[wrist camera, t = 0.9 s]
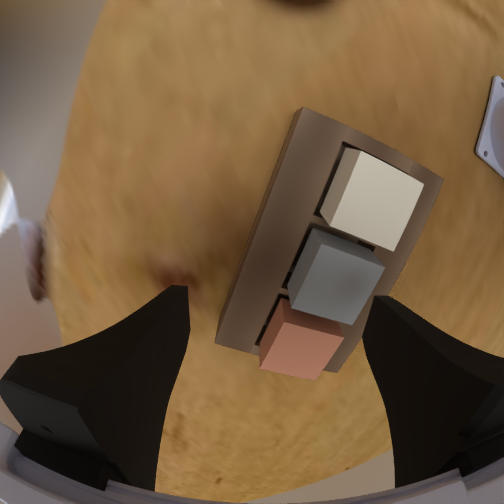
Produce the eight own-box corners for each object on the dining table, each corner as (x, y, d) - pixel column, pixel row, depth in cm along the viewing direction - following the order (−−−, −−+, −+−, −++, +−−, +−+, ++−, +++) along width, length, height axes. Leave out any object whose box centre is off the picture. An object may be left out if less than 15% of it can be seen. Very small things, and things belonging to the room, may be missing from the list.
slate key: (370, 249, 17) (385, 267, 15) (342, 302, 19) (352, 325, 16) (312, 227, 17) (321, 244, 14) (287, 285, 18) (291, 308, 16)
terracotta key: (335, 313, 19) (344, 337, 17) (310, 355, 21) (315, 380, 18) (281, 297, 19) (284, 322, 16) (259, 342, 20) (259, 368, 18)
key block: (422, 171, 18) (444, 179, 15) (330, 349, 24) (337, 372, 21) (296, 110, 17) (303, 106, 14) (219, 319, 23) (214, 343, 20)
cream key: (403, 176, 15) (424, 184, 13) (376, 235, 17) (393, 251, 15) (345, 147, 15) (361, 150, 13) (319, 211, 16) (329, 225, 14)
